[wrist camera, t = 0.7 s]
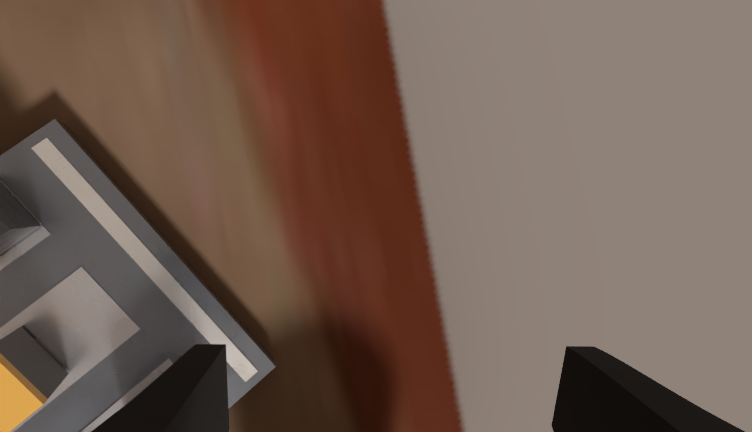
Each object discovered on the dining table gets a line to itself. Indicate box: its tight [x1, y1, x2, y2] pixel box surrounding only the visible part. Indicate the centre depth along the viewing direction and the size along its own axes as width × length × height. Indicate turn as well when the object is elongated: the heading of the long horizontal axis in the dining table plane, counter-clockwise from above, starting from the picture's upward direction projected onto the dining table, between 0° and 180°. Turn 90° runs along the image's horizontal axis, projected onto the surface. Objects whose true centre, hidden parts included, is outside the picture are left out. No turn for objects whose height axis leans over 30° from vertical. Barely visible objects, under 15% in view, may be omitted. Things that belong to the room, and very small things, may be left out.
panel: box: [0, 119, 276, 432], centre depth 23 cm, size 17×16×6 cm
